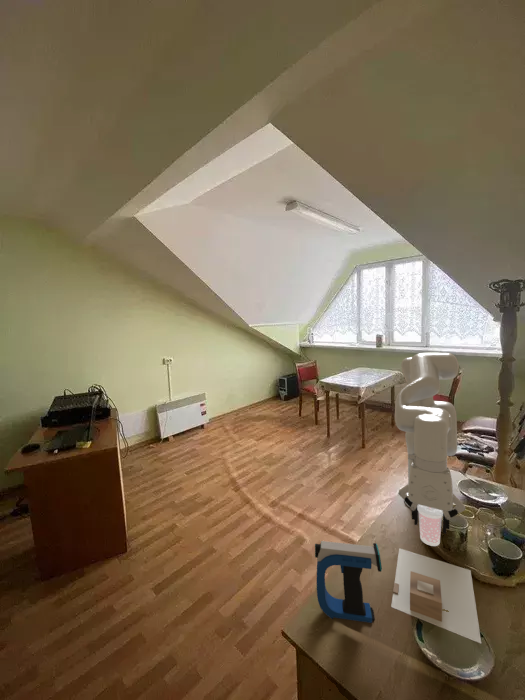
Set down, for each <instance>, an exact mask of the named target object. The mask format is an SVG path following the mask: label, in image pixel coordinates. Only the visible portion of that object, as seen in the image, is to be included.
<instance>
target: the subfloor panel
mask: <svg viewBox="0 0 525 700" xmlns="http://www.w3.org/2000/svg"><path fill="white" fill-rule="evenodd" d="M411 571H412V572H415V573H418V574H422V575H425V576H428V577H431V578H434V579H437V580H440V585H441V598H442V609H445V610H448V611H449V612H446V611H442V622H441V621H438V620H436V619H433V618H430V617H428V616H425V615H422V614H419V613H417V612H414V611H411V610H410V573H411ZM394 578H395V579H394V582H393V583H394V584H393V590H392V599H391V605H390V607H391V608H392V609H395V610H396V611H399V612H402V613H405V614H407V615H409V616H412V617H415V618H417V619H418V620H419V619H420V620H422V621H424V622H427V623H430V624H432V625H434V626H436V627H439V628H441V629H444V630H447V631H449V632H451V633H454V634H457V635H458V636H461V637H463V638H466V639H468V640H470V641H473V642H475V643H478V644H482V639H481V632H480V625H479V619H478V618H479V617H478V611H477V603H476V597H475V593H474V592H475V591H474V585H473V578H472V571H471V569H468V568H463V567H460V566H457V565H455V564H451V563H448V562H445V561H442V560H439V559H435V558H432V557H430V556H426V555H422V554H419V553H416V552H412V551H409V550H407V549H403V548H398V556H397V562H396V570H395V576H394Z"/></svg>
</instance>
